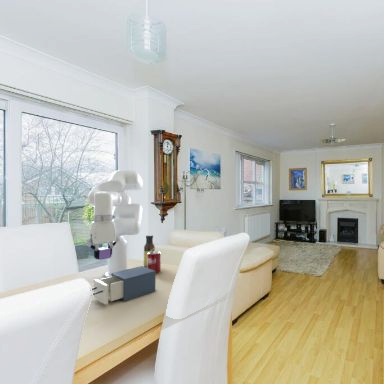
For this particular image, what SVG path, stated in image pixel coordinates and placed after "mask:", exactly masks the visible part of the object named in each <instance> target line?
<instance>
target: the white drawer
mask: <svg viewBox="0 0 384 384" xmlns="http://www.w3.org/2000/svg"><path fill="white" fill-rule="evenodd" d="M91 288H92V290H91V291H93V292H92V293H93V295H92V296H93V299H96V300H97V301H99V302H100V303H102V304H103V305H104V306H106V305H109V302H114V301H117V300H121V299H120V298H123V297H124V280H122V279H119V278H117V277H115V276H111V277H104V278H100V279H98V278H95V279H93V287H91Z"/></svg>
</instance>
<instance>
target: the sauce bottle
mask: <svg viewBox="0 0 384 384" xmlns="http://www.w3.org/2000/svg"><path fill="white" fill-rule="evenodd" d="M153 238H154V235H153V234H145V242H146V243H145V244H144V246H143V267H146V268H147V254H148V252H152V251H156V246H155V244H154V243H153V242H154V241H153Z"/></svg>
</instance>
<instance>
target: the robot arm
mask: <svg viewBox="0 0 384 384" xmlns="http://www.w3.org/2000/svg"><path fill="white" fill-rule="evenodd" d="M143 186H144V182H143V178H142V177H141V175H140V173H139V172H138V171H136V170H129V169H128V170H127V169H118V170H114V171H113V172H112V174H111V175H110V176H109V179H108V180H106V181H103V182H101V183H97V184H96V185H95V186H93V187H92V188H91V190H90V191H89V193H88V196H87V203H88V205H89V206H90V207H93V221H91V223H90V227H89V238H88V240H87V241H86V243H84V245H85V246H86V247H89V248H90V249H92V250H93V257H94V259H96V260H99V250H98V248H100V245H101V244H107V247H108V248H110V258H108V259H107V271H106V272H105V273H104V278H107V277H111V273H114V272H118V271H123V270H127V269H128V241H127V239H126V238H125V237H124V236H135V235H138V234H140V231H141V228H142V222H143V221H142V219H143V207H142V204H140V203H131V202H132V198H131V196H130V195H129V194H128V193H127V192H126V191H140V190H142V189H143Z"/></svg>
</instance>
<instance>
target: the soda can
mask: <svg viewBox="0 0 384 384" xmlns="http://www.w3.org/2000/svg"><path fill="white" fill-rule="evenodd" d="M161 259H162V253H161V251H158V250H155V251H152V252H148V254H147V268H149V269H151V270H154V271H155V276H157V275H159V274H161V270H162V269H161V266H162V265H161V263H162V260H161Z"/></svg>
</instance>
